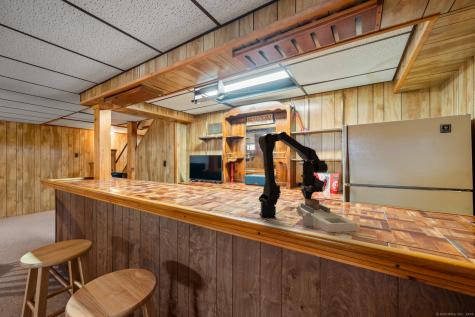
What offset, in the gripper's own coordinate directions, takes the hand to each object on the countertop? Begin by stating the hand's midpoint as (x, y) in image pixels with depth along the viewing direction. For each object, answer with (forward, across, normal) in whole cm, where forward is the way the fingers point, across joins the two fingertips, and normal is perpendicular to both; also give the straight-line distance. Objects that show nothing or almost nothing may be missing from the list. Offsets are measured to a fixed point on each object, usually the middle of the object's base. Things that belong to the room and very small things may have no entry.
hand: (307, 203), depth 106 cm
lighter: (+5, -19, +11) cm, 22 cm away
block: (+2, -4, 0) cm, 5 cm away
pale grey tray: (+5, -14, 0) cm, 15 cm away
